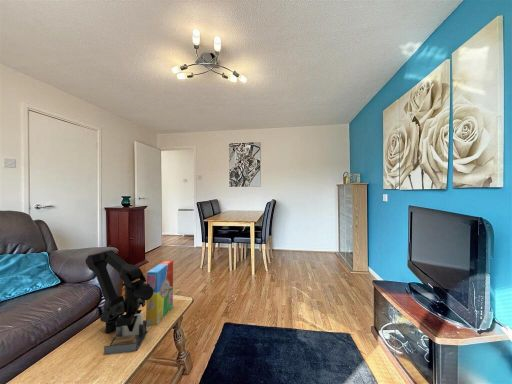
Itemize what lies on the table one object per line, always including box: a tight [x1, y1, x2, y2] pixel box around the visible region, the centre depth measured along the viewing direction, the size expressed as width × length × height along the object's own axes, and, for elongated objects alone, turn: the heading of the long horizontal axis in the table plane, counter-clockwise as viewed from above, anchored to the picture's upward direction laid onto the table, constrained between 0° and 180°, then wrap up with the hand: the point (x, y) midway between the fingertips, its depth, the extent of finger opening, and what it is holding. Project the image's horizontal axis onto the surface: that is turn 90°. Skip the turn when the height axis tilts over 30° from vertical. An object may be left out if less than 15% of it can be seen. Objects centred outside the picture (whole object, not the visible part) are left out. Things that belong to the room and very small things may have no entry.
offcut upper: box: [113, 335, 135, 345], centre depth 95 cm, size 3×7×2 cm, turn 104°
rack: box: [102, 319, 149, 356], centre depth 98 cm, size 14×13×6 cm
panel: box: [122, 312, 144, 336], centre depth 103 cm, size 1×9×9 cm, turn 99°
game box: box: [145, 259, 174, 327], centre depth 121 cm, size 21×6×27 cm, turn 179°
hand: (131, 330), depth 103 cm, fingers closed on panel, 1 cm apart
